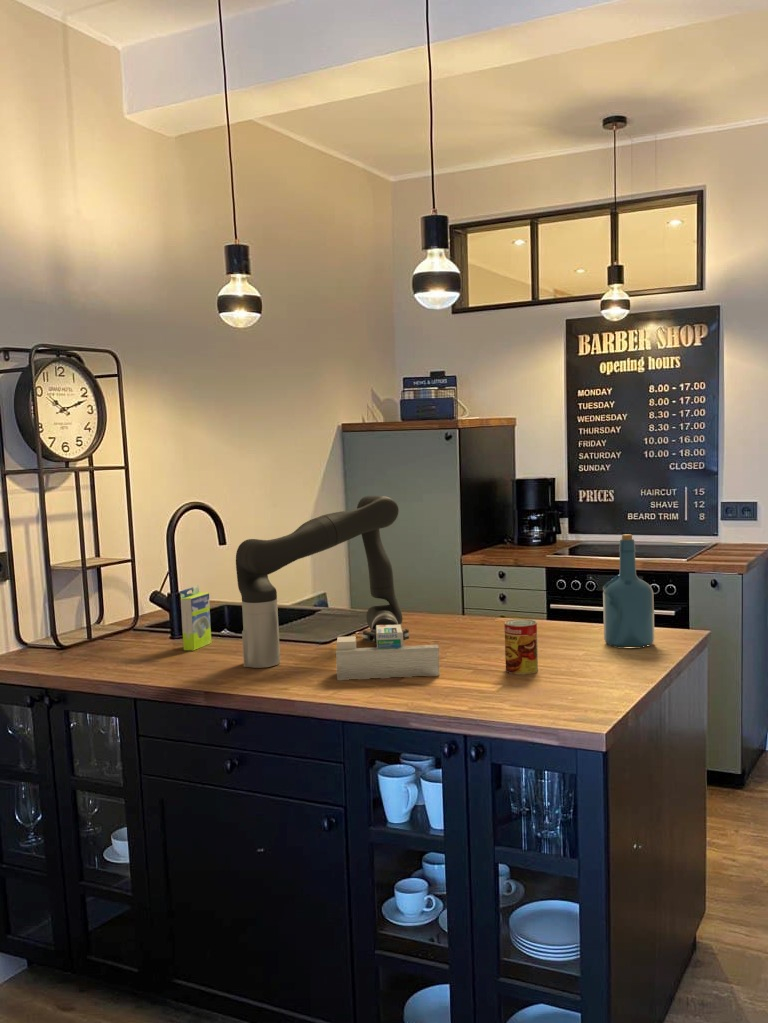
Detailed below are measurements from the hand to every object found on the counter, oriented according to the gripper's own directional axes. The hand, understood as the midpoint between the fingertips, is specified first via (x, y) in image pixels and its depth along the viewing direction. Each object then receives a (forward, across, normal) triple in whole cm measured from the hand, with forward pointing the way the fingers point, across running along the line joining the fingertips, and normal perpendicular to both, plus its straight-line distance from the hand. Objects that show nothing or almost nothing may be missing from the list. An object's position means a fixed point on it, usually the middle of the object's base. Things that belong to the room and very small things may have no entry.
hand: (386, 642), depth 234 cm
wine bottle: (-12, +66, +6) cm, 67 cm away
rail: (+10, 0, +6) cm, 11 cm away
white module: (+8, -10, +6) cm, 14 cm away
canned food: (+11, +33, +6) cm, 35 cm away
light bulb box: (+5, +1, +6) cm, 8 cm away
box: (-32, -55, +6) cm, 64 cm away
